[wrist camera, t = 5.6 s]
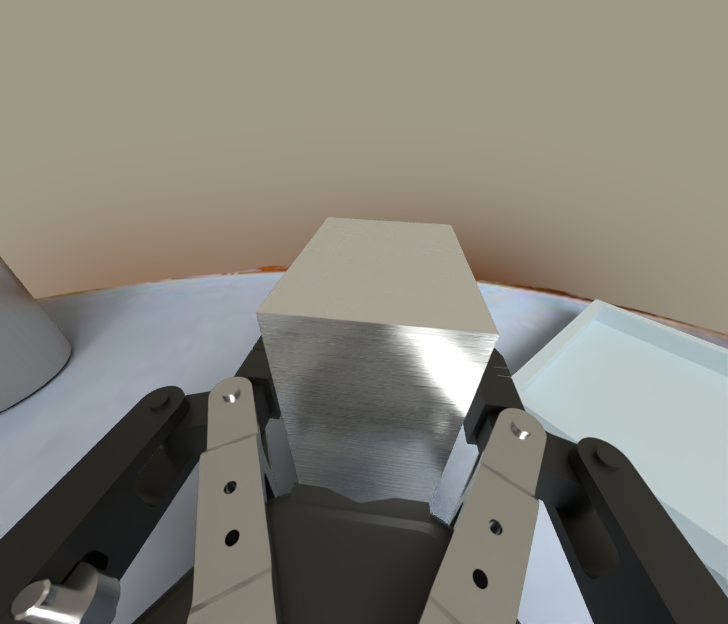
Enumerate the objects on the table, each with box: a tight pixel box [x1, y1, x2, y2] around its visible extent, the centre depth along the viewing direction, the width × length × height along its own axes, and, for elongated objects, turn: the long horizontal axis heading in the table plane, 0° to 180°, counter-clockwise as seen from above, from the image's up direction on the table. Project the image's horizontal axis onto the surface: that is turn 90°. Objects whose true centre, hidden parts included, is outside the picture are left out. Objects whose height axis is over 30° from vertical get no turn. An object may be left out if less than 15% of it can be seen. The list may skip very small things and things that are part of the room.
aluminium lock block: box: [256, 217, 499, 505], centre depth 11 cm, size 4×6×12 cm
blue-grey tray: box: [511, 299, 728, 597], centre depth 16 cm, size 16×16×2 cm
